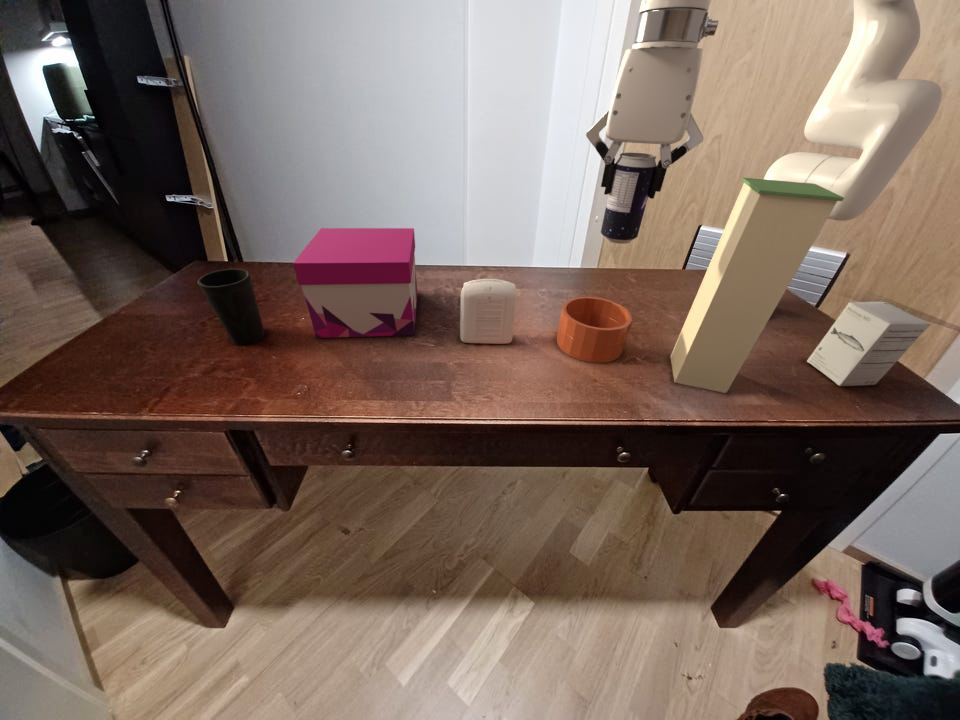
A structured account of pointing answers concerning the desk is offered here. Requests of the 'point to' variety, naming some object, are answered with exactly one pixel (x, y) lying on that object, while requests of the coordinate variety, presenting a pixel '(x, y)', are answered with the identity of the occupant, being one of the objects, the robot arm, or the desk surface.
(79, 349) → the desk surface
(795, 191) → the mat
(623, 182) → the beverage can
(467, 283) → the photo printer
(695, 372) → the plant stand
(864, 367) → the white packaging box
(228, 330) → the cup
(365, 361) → the desk surface
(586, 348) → the pot
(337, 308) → the decorative box
